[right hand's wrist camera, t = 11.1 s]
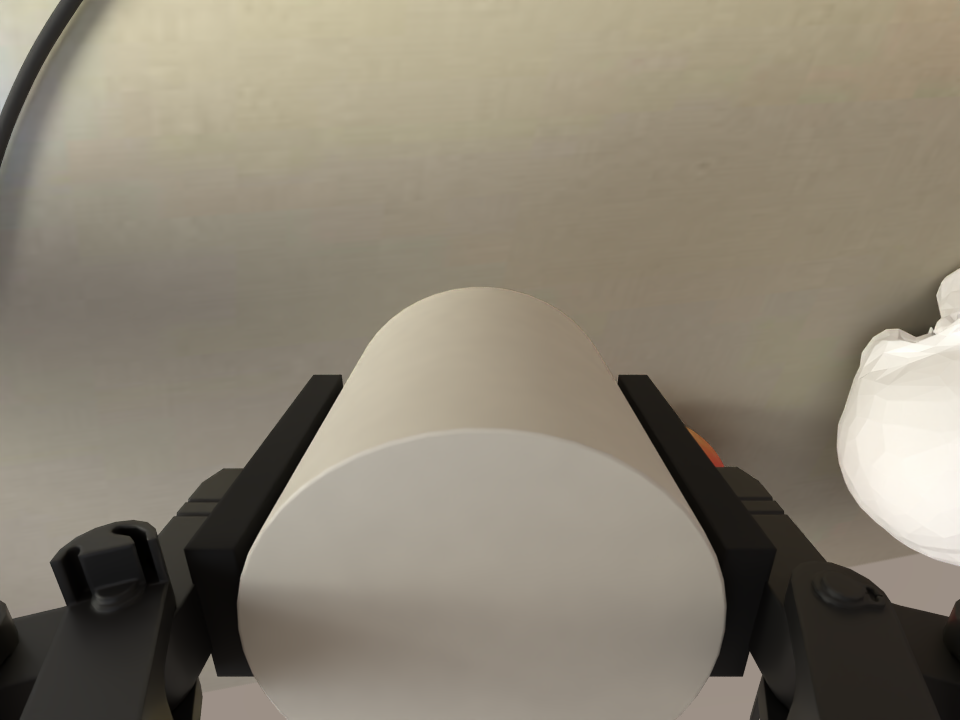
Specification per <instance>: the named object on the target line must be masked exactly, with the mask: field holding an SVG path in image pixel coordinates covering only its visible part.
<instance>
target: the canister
mask: <svg viewBox="0 0 960 720" xmlns="http://www.w3.org/2000/svg"><path fill="white" fill-rule="evenodd" d="M726 609H727V604H726V595H725V586H724V579H723V576H722V572H721V569H720V566H719V562H718V559H717V556H716V554H715V552H714V550H713V548H712V546H711V544H710V542H709V540H708V538H707V536H706V534H705V532H704V530H703V529H702V527H701V525H700V523H699V522H698V520H697V518H696V517H695V515H694V513H693V512H692V510H691V508H690V507H689V505H688V503H687V501H686V500H685V498H684V496H683V495H682V493H681V491H680V490H679V488H678V486H677V484H676V483H675V481H674V479H673V478H672V476H671V474H670V473H669V471H668V469H667V468H666V466H665V464H664V462H663V461H662V459H661V457H660V456H659V454H658V452H657V451H656V449H655V447H654V445H653V444H652V442H651V440H650V439H649V437H648V435H647V434H646V432H645V430H644V429H643V427H642V425H641V423H640V422H639V420H638V418H637V417H636V415H635V413H634V412H633V410H632V408H631V407H630V405H629V403H628V401H627V400H626V398H625V396H624V395H623V393H622V391H621V390H620V388H619V386H618V384H617V383H616V381H615V379H614V378H613V376H612V374H611V373H610V371H609V369H608V368H607V366H606V364H605V362H604V361H603V359H602V357H601V356H600V354H599V352H598V351H597V349H596V347H595V346H594V344H593V343H592V342H591V340H590V339H589V337H588V336H587V335H586V333H585V332H584V331H583V330H582V329H581V328H580V327H579V326H578V325H577V324H576V323H575V322H574V321H573V320H572V319H570V318H569V317H568V316H566V315H565V314H564V313H563V312H561V311H560V310H558V309H557V308H555V307H553V306H551V305H550V304H548V303H546V302H545V301H542V300H540V299H537V298H535V297H533V296H530V295H528V294H524V293H520V292H517V291H513V290H509V289H501V288H494V287H469V288H461V289H453V290H449V291H445V292H442V293H438V294H435V295H432V296H430V297H427V298H425V299H422V300H420V301H418V302H416V303H414V304H412V305H411V306H409V307H407V308H405V309H404V310H402V311H401V312H400V313H398V314H397V315H396V316H394V317H393V318H392V319H390V320H389V321H388V322H387V323H386V324H385V325H384V326H383V327H382V328H381V329H380V330H379V331H378V332H377V334H376V335H375V336H374V338H373V339H372V340H371V342H370V343H369V344H368V346H367V347H366V349H365V351H364V353H363V354H362V356H361V358H360V359H359V361H358V363H357V365H356V366H355V368H354V370H353V372H352V373H351V375H350V377H349V378H348V380H347V382H346V384H345V385H344V387H343V389H342V391H341V392H340V394H339V396H338V397H337V399H336V401H335V403H334V404H333V406H332V408H331V409H330V411H329V413H328V415H327V416H326V418H325V420H324V422H323V423H322V425H321V427H320V428H319V430H318V432H317V434H316V435H315V437H314V439H313V440H312V442H311V444H310V446H309V447H308V449H307V451H306V453H305V454H304V456H303V458H302V459H301V461H300V463H299V465H298V466H297V468H296V470H295V472H294V473H293V475H292V477H291V478H290V480H289V482H288V484H287V485H286V487H285V489H284V490H283V492H282V494H281V496H280V497H279V499H278V501H277V503H276V504H275V506H274V508H273V509H272V511H271V513H270V515H269V516H268V518H267V520H266V522H265V523H264V525H263V527H262V528H261V530H260V532H259V534H258V536H257V538H256V540H255V541H254V543H253V545H252V547H251V549H250V551H249V553H248V556H247V559H246V562H245V565H244V568H243V571H242V574H241V577H240V584H239V592H238V599H237V613H238V630H239V634H240V638H241V643H242V647H243V652H244V654H245V656H246V659H247V661H248V664H249V666H250V669H251V671H252V673H253V675H254V677H255V678H256V680H257V682H258V683H259V685H260V687H261V688H262V690H263V692H264V693H265V695H266V696H267V697H268V698H269V700H270V701H271V702H272V703H273V704H274V706H275V707H276V708H277V709H278V711H279V712H280V713H281V714H282V715H283V716H284V717H285V718H286V719H288V720H676V719H677V718H678V717H679V716H680V715H681V714H682V713H683V712H684V711H685V710H686V708H687V707H688V706H689V705H690V704H691V702H692V701H693V700H694V699H695V698H696V696H697V695H698V694H699V692H700V690H701V689H702V687H703V686H704V684H705V682H706V681H707V679H708V678H709V676H710V674H711V672H712V669H713V667H714V665H715V663H716V660H717V658H718V656H719V653H720V649H721V645H722V641H723V637H724V633H725V623H726Z"/></svg>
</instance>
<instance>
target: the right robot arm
mask: <svg viewBox="0 0 960 720" xmlns="http://www.w3.org/2000/svg"><path fill="white" fill-rule="evenodd" d="M82 1H83V0H61V1H60V2H59V4H58V5H57V7H56V8H55V10H54V11H53V13H52V14H51V16H50V18H49V19H48V21H47V22H46V24H45V26H44V27H43V29H42V31H41V32H40V34H39V36H38V37H37V39H36V41H35V43H34V44H33V46H32V48H31V50H30V52H29V53H28V55H27V57H26V59H25V61H24V63H23V65H22V67H21V69H20V71H19V73H18V75H17V78H16V80H15V82H14V84H13V86H12V88H11V91H10V93H9V95H8V98H7V100H6V102H5V105H4V107H3V109H2V112H1V114H0V166H1V163H2V160H3V156H4V153H5V150H6V147H7V144H8V141H9V139H10V136H11V133H12V130H13V128H14V125H15V123H16V120H17V118H18V115H19V113H20V111H21V108H22V106H23V104H24V102H25V99H26V97H27V95H28V93H29V91H30V89H31V87H32V85H33V82H34V80H35V78H36V76H37V74H38V72H39V71H40V69H41V67H42V65H43V63H44V61H45V59H46V58H47V56H48V54H49V52H50V51H51V49H52V47H53V46H54V44H55V42H56V41H57V39H58V37H59V36H60V34H61V33H62V31H63V30H64V28H65V26H66V25H67V23H68V22H69V20H70V19H71V17H72V16H73V14H74V13H75V11H76V10H77V8H78V7H79V5H80V4H81V3H82ZM618 386H619V388H620V390H621V391H622V393H623V395H624V396H625V398H626V400H627V401H628V403H629V405H630V407H631V408H632V410H633V412H634V413H635V415H636V417H637V418H638V420H639V422H640V423H641V425H642V427H643V429H644V430H645V432H646V434H647V435H648V437H649V439H650V440H651V442H652V444H653V445H654V447H655V449H656V451H657V452H658V454H659V456H660V457H661V459H662V461H663V462H664V464H665V466H666V468H667V469H668V471H669V473H670V474H671V476H672V478H673V479H674V481H675V483H676V484H677V486H678V488H679V490H680V491H681V493H682V495H683V496H684V498H685V500H686V501H687V503H688V505H689V507H690V508H691V510H692V512H693V513H694V515H695V517H696V518H697V520H698V522H699V523H700V525H701V527H702V529H703V530H704V532H705V534H706V536H707V538H708V540H709V542H710V544H711V546H712V548H713V550H714V552H715V554H716V556H717V559H718V562H719V566H720V569H721V572H722V576H723V579H724V586H725V595H726V604H727V609H726V623H725V633H724V637H723V641H722V645H721V649H720V653H719V656H718V658H717V660H716V663H715V665H714V667H713V669H712V672H711V674H710V676H719V677H720V676H722V677H723V676H724V677H725V676H727V677H732V676H733V677H734V676H735V677H738V676H739V677H742V676H743V674H744V670H745V666H746V663H747V659H748V655H749V652H750V653H751V654H752V656H753V658H754V660H755V662H756V664H757V666H758V667H759V669H760V671H761V673H762V677H761V681H760V684H759V688H758V691H757V695H756V698H755V702H754V705H753V709H752V712H751V716H750V720H759V718H760V720H960V600H958V601H957V602H956V603H955V605H954V607H953V610H952V612H951V614H950V616H949V617H947V616H943V615H938V614H934V613H930V612H926V611H921V610H917V609H913V608H908V607H904V606H900V605H897V604H893V603H891V602H890V600H889V599H888V597H887V596H886V594H885V593H884V592H883V591H882V590H881V589H880V588H879V587H877V586H876V585H875V584H874V583H873V582H871V581H870V580H869V579H867V578H866V577H864V576H862V575H860V574H858V573H856V572H855V571H853V570H851V569H849V568H846V567H843V566H840V565H837V564H834V563H830V562H827V561H826V560H825V559H824V558H823V557H822V556H821V554H820V553H819V552H818V551H817V550H816V548H815V547H814V546H813V545H812V544H811V543H810V541H809V540H808V539H807V538H806V537H805V535H804V534H803V533H802V532H801V531H800V529H799V528H798V527H797V526H796V525H795V524H794V522H793V521H792V520H791V519H790V518H789V516H788V515H785V514H784V511H783V509H782V508H781V507H780V506H779V505H778V503H777V502H776V501H773V499H772V496H771V495H770V494H769V493H768V492H767V490H766V489H765V488H764V487H763V486H762V484H761V483H760V482H759V481H758V480H756V479H755V478H753V477H752V476H750V475H749V474H747V473H746V472H744V471H743V470H741V469H739V468H738V467H715V465H714V464H713V463H712V461H711V460H710V459H709V457H708V456H707V455H706V453H705V452H704V451H703V449H702V448H701V447H700V445H699V444H698V443H697V441H696V440H695V439H694V437H693V436H692V435H691V433H690V432H689V431H688V429H687V428H686V427H685V425H684V424H683V423H682V421H681V420H680V419H679V417H678V416H677V415H676V413H675V412H674V411H673V409H672V408H671V406H670V405H669V404H668V402H667V401H666V400H665V398H664V397H663V396H662V394H661V393H660V392H659V390H658V389H657V388H656V386H655V385H654V384H653V382H652V381H651V380H650V378H649V377H648V376H647V375H619V376H618ZM342 389H343V382H342V375H313V376H312V377H311V379H310V380H309V381H308V383H307V384H306V386H305V387H304V388H303V390H302V391H301V392H300V394H299V395H298V396H297V398H296V399H295V400H294V402H293V403H292V404H291V406H290V407H289V408H288V410H287V411H286V412H285V414H284V415H283V416H282V418H281V419H280V420H279V422H278V423H277V424H276V426H275V427H274V428H273V430H272V431H271V432H270V434H269V435H268V436H267V438H266V439H265V440H264V442H263V443H262V445H261V446H260V447H259V449H258V450H257V451H256V453H255V454H254V455H253V457H252V458H251V459H250V461H249V462H248V463H247V465H246V466H245V467H244V469H222V470H221V471H219V472H218V473H216V474H215V475H213V476H212V477H210V478H209V479H207V480H205V481H204V482H202V483H201V485H200V486H199V487H198V488H197V489H196V491H195V492H194V493H193V494H192V495H191V497H190V498H189V499H188V502H186V503H185V504H184V505H183V506H182V507H181V509H180V510H179V511H178V512H177V516H174V517H173V518H172V519H171V520H170V522H169V523H168V524H167V525H166V526H165V528H164V529H163V530H162V531H161V532H160V534H159V535H157V532H156V529H155V528H154V527H153V526H152V525H150V524H149V523H148V522H142V521H136V520H130V521H120V522H114V523H111V524H107V525H104V526H101V527H97V528H95V529H93V530H90V531H88V532H86V533H84V534H82V535H80V536H78V537H76V538H75V539H73V540H72V541H71V542H69V543H68V544H67V545H65V546H64V547H63V548H61V549H60V550H59V551H58V553H57V554H56V555H55V556H54V558H53V559H52V560H51V561H50V564H51V567H52V569H53V572H54V574H55V577H56V579H57V582H58V584H59V587H60V589H61V592H62V595H63V597H64V600H65V602H66V605H67V606H65V607H61V608H57V609H53V610H48V611H44V612H40V613H36V614H31V615H27V616H23V617H18V618H14V619H12V617H11V615H10V613H9V611H8V608H7V606H6V604H5V603H3V602H2V601H0V720H200V716H201V707H202V690H201V684H200V681H199V677H198V676H199V675H200V673H201V671H202V669H203V667H204V665H205V663H206V661H207V660H208V658H209V656H210V654H212V658H213V661H214V665H215V669H216V673H217V676H254V675H253V673H252V671H251V669H250V666H249V664H248V661H247V659H246V656H245V654H244V652H243V647H242V643H241V638H240V634H239V630H238V613H237V599H238V592H239V584H240V577H241V574H242V571H243V568H244V565H245V562H246V559H247V556H248V553H249V551H250V549H251V547H252V545H253V543H254V541H255V540H256V538H257V536H258V534H259V532H260V530H261V528H262V527H263V525H264V523H265V522H266V520H267V518H268V516H269V515H270V513H271V511H272V509H273V508H274V506H275V504H276V503H277V501H278V499H279V497H280V496H281V494H282V492H283V490H284V489H285V487H286V485H287V484H288V482H289V480H290V478H291V477H292V475H293V473H294V472H295V470H296V468H297V466H298V465H299V463H300V461H301V459H302V458H303V456H304V454H305V453H306V451H307V449H308V447H309V446H310V444H311V442H312V440H313V439H314V437H315V435H316V434H317V432H318V430H319V428H320V427H321V425H322V423H323V422H324V420H325V418H326V416H327V415H328V413H329V411H330V409H331V408H332V406H333V404H334V403H335V401H336V399H337V397H338V396H339V394H340V392H341V391H342Z"/></svg>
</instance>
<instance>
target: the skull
mask: <svg viewBox="0 0 960 720" xmlns="http://www.w3.org/2000/svg"><path fill="white" fill-rule="evenodd" d="M936 297H937V301H938V306H939V310H940V315H941V319H940V320H939V321H938V322H937V324H936V326H935V329H934V330H933V328H932V327H930V329H929V332H928V334H925V335H922V336H919V337H915V336H913V335H911V334H909V333H907V332H905V331H903V330H901V329H886V330H884V331H882V332H881V333H879V334H877V335H876V336H874V337H873V338H872V339H871V341H870V342H869V343H868V345H867V346H866V348H865V349H864V350H863V352H862V355H861V362H860V367H859V369H858V371H857V373H856V375H855V378H854V380H853V383H852V386H851V389H850V392H849V395H848V399H847V402H846V405H845V408H844V411H843V413H842V416H841V418H840V421H839V423H838V433H837V453H838V460H839V465H840V468H841V471H842V474H843V477H844V480H845V483H846V485H847V487H848V489H849V491H850V493H851V494H852V496H853V497H854V499H855V500H856V502H857V503H858V505H859V506H860V508H862V509H863V510H864V511H865V512H866V513H867V514H868V515H869V516H870V517H871V518H872V519H873V520H874V521H875V522H876V523H877V524H879V525H880V526H881V527H883V528H884V529H885V530H886V531H887V532H889V533H890V534H891V535H892V536H893V537H894V538H895V539H897V540H898V541H900V542H902V543H903V544H905V545H906V546H908V547H909V548H911V549H913V550H915V551H917V552H920V553H922V554H924V555H926V556H928V557H930V558H933V559H935V560H939V561H942V562H946V563H949V564H953V565H956V566H960V268H959V269H958V270H956V271H954V272H953V273H951V274H950V275H948V276H946V277H945V278H944V280H943V281H942V282H941V285H940V287H939V290H938V292H937V294H936ZM934 333H935V334H936V335H934Z"/></svg>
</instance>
